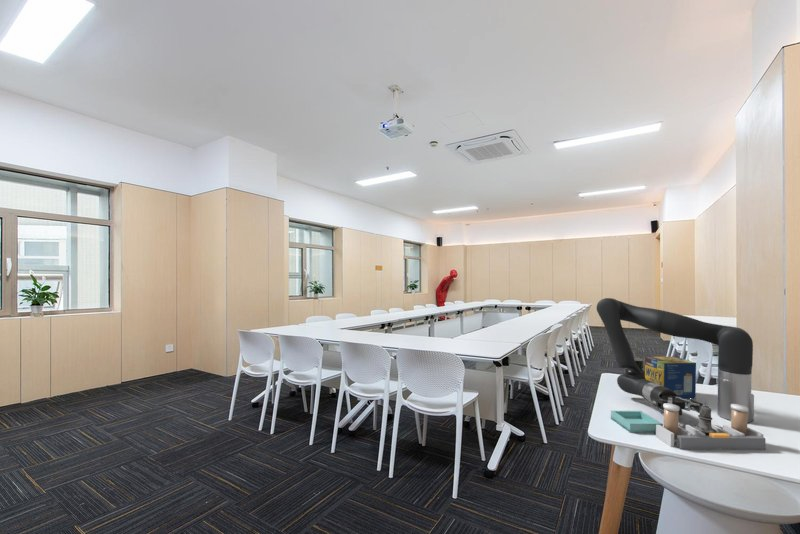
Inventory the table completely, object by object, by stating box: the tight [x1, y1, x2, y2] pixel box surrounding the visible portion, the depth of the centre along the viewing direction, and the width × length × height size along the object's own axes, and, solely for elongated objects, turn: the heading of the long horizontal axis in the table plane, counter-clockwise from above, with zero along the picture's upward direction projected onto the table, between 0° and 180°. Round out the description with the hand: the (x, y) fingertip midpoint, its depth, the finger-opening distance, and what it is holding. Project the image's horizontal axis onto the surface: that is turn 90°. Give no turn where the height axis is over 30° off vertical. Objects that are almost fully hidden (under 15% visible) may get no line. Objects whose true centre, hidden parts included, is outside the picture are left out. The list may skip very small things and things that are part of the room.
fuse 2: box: [730, 404, 749, 436], centre depth 118 cm, size 4×4×11 cm
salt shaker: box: [692, 402, 717, 436], centre depth 118 cm, size 6×6×12 cm
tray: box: [610, 410, 664, 434], centre depth 128 cm, size 11×11×3 cm
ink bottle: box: [623, 357, 645, 376], centre depth 174 cm, size 10×9×12 cm
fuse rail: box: [654, 424, 766, 451], centre depth 118 cm, size 29×12×4 cm, turn 90°
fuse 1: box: [663, 403, 680, 444], centre depth 118 cm, size 4×4×11 cm
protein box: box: [644, 356, 697, 400], centre depth 160 cm, size 10×15×16 cm
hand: (693, 412), depth 122 cm, fingers open, 8 cm apart
